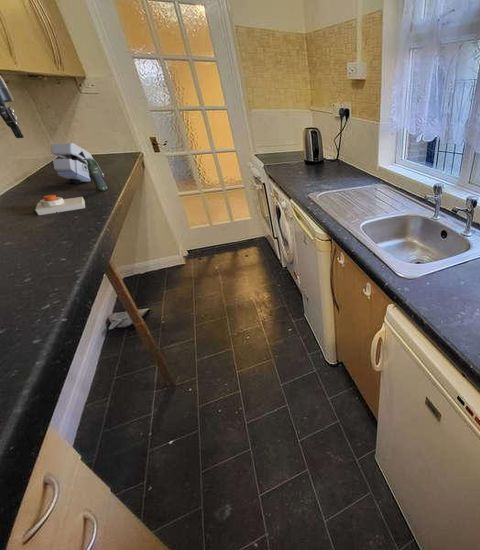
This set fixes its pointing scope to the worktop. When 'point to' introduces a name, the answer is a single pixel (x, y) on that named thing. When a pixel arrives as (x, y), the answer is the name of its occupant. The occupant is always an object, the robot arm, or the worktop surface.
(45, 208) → the button base
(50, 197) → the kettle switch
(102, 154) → the worktop surface
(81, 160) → the robotic device
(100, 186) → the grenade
